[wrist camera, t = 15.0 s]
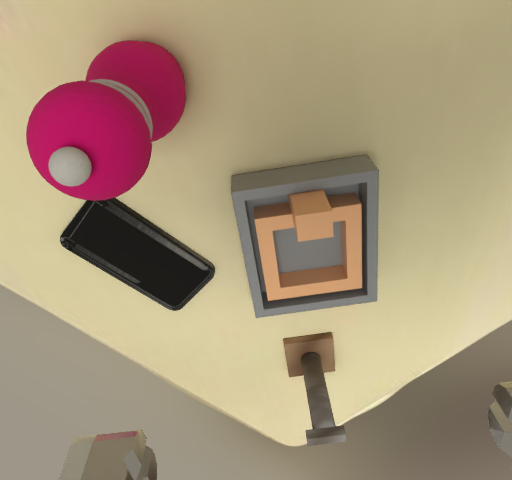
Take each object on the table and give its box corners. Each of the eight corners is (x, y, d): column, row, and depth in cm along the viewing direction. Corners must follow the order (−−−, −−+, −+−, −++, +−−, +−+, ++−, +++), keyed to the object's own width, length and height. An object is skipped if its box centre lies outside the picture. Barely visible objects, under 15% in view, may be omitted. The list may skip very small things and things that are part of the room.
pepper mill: (186, 130, 37) (144, 253, 20) (104, 117, 36) (-13, 234, 19) (194, 44, 33) (152, 104, 16) (103, 26, 33) (-42, 71, 16)
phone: (95, 189, 39) (218, 272, 45) (98, 184, 40) (219, 266, 46) (55, 243, 42) (175, 314, 48) (59, 237, 43) (176, 308, 48)
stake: (331, 332, 51) (354, 418, 41) (333, 365, 54) (356, 453, 44) (283, 338, 51) (294, 426, 41) (288, 371, 54) (300, 459, 44)
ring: (354, 170, 39) (375, 204, 33) (356, 273, 45) (374, 317, 39) (250, 186, 39) (252, 222, 33) (266, 286, 46) (270, 331, 40)
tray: (366, 154, 39) (378, 170, 36) (367, 279, 47) (377, 301, 44) (231, 175, 40) (231, 192, 36) (254, 295, 47) (256, 317, 44)
